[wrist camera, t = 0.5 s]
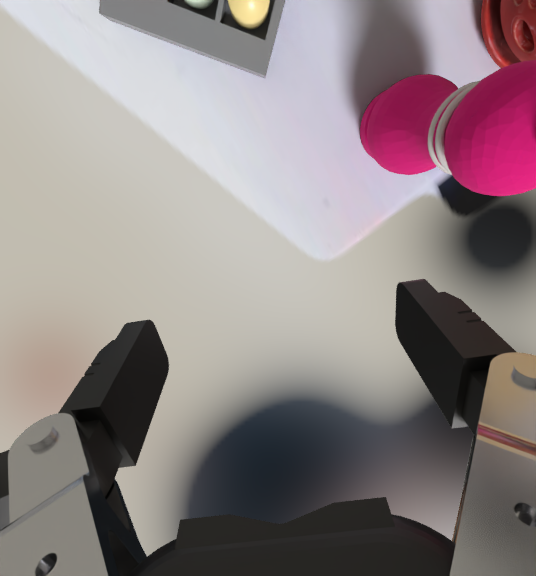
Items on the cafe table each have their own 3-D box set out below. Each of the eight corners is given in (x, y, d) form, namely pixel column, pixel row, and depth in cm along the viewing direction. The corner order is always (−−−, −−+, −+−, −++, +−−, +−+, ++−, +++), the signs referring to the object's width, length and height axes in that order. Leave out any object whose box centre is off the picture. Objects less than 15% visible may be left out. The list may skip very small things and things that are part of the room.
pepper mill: (376, 182, 32) (521, 260, 15) (339, 117, 29) (463, 116, 12) (444, 134, 30) (703, 157, 13) (412, 60, 28) (687, -43, 10)
